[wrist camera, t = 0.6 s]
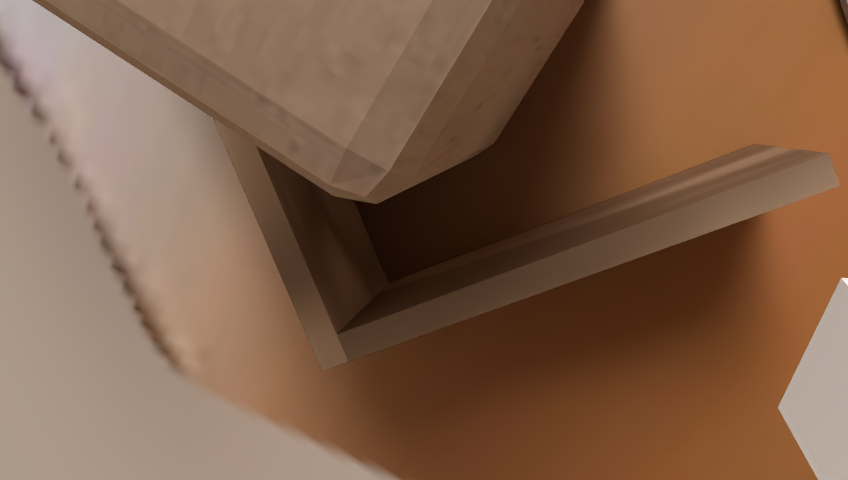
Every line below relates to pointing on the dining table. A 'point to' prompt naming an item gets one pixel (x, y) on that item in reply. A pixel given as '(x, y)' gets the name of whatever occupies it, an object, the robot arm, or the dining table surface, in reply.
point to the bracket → (498, 262)
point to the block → (341, 75)
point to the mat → (845, 8)
